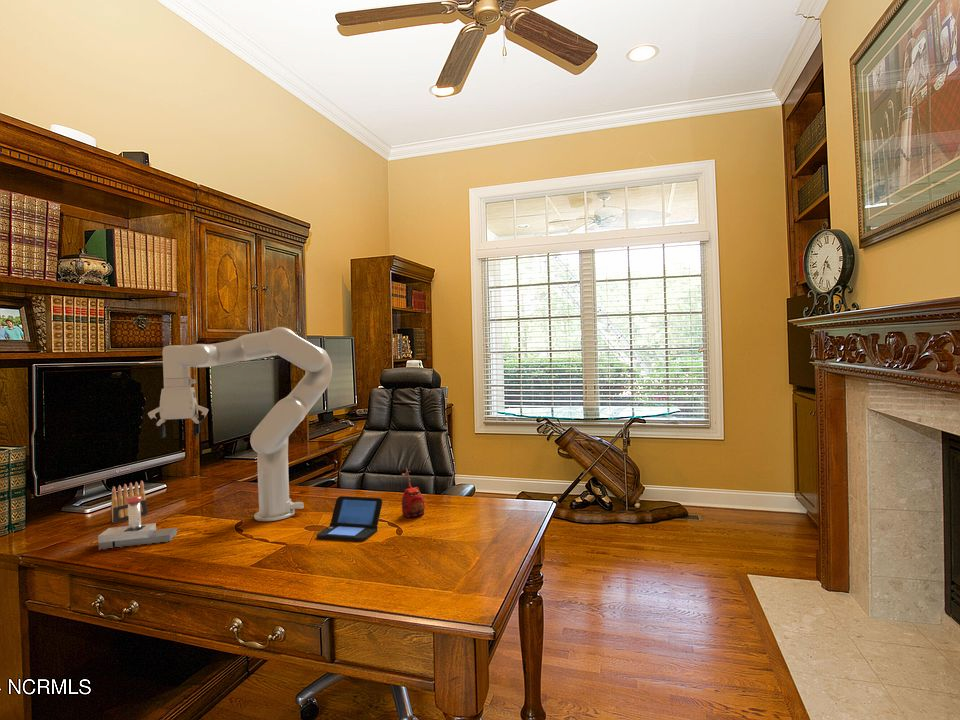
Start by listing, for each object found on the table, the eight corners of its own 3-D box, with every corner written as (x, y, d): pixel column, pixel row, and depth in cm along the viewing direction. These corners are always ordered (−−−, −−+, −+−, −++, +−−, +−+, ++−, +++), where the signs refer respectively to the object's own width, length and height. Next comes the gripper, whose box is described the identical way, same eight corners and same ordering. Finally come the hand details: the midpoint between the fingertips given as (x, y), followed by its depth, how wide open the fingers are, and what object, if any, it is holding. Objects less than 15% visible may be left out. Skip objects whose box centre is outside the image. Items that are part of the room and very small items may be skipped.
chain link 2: (177, 534, 159) (176, 527, 159) (169, 541, 153) (169, 535, 153) (124, 539, 156) (124, 533, 156) (114, 548, 149) (114, 541, 149)
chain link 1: (156, 536, 158) (155, 523, 158) (148, 544, 151) (147, 530, 151) (109, 541, 155) (108, 528, 155) (98, 549, 148) (98, 535, 148)
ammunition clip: (113, 523, 172) (112, 487, 172) (110, 522, 173) (109, 486, 173) (147, 514, 182) (146, 479, 182) (144, 513, 183) (143, 479, 182)
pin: (145, 539, 156) (144, 494, 156) (141, 543, 152) (139, 498, 152) (130, 540, 155) (128, 496, 155) (125, 545, 151) (123, 499, 151)
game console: (314, 539, 151) (313, 508, 151) (338, 524, 164) (337, 495, 164) (363, 543, 147) (362, 511, 147) (384, 527, 160) (383, 497, 160)
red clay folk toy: (409, 520, 166) (407, 472, 165) (397, 515, 171) (395, 469, 171) (428, 514, 171) (427, 468, 170) (416, 510, 176) (415, 465, 176)
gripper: (209, 382, 175) (211, 433, 175) (151, 384, 170) (153, 437, 170) (204, 383, 167) (206, 436, 168) (142, 385, 163) (145, 440, 163)
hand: (179, 436), depth 169 cm, fingers open, 9 cm apart
